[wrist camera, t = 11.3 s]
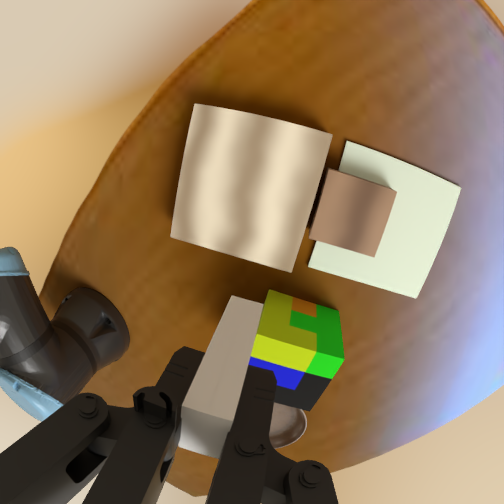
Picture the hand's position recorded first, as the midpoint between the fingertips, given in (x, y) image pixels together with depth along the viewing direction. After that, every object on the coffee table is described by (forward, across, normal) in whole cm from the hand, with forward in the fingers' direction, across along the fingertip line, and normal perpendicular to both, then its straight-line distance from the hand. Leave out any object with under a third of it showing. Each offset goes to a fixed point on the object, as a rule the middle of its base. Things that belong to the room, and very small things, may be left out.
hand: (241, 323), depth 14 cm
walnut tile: (+23, +8, +3) cm, 24 cm away
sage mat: (+23, +13, +2) cm, 27 cm away
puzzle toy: (+24, +6, -16) cm, 29 cm away
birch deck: (+23, -4, +2) cm, 24 cm away
